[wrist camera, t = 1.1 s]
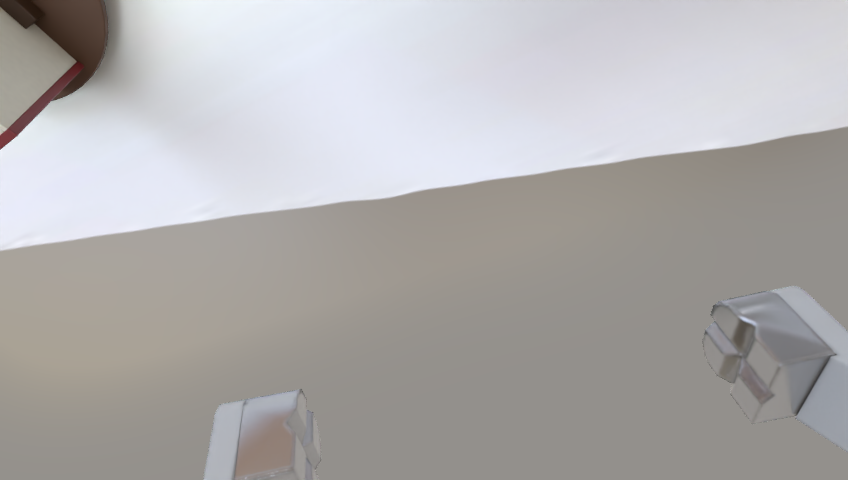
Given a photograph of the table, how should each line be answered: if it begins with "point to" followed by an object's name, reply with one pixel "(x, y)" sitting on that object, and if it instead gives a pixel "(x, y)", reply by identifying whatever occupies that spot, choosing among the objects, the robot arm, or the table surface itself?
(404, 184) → the table surface
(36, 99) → the upright block on disc
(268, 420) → the robot arm
